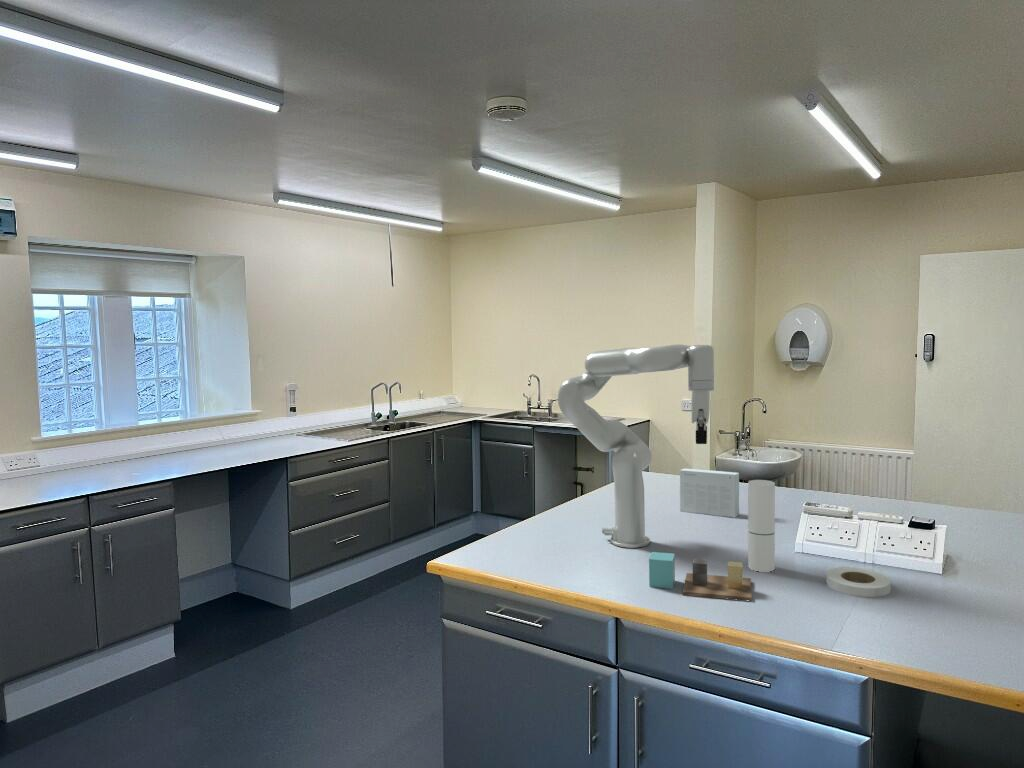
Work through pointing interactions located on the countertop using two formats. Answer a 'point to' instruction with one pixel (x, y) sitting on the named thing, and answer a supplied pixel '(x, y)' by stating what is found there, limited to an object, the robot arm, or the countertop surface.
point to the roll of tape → (844, 576)
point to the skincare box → (709, 492)
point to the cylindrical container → (761, 525)
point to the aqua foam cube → (662, 570)
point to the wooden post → (735, 575)
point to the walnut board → (713, 584)
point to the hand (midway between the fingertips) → (701, 441)
